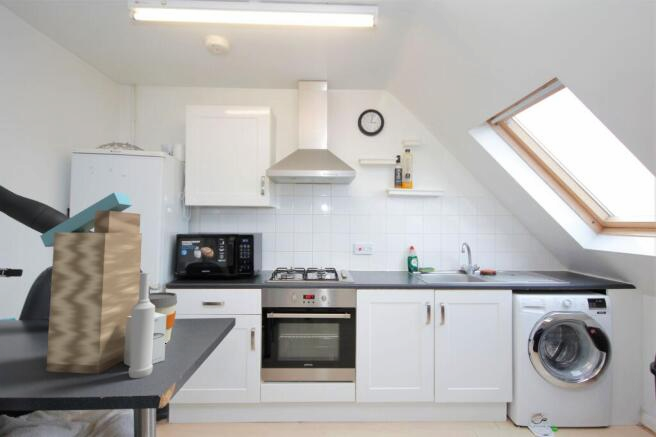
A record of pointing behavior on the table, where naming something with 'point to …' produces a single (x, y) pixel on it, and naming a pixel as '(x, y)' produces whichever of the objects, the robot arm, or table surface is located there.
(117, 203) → the long light blue beam
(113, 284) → the brown tall stepped block
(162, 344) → the supplement box
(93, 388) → the table surface
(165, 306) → the reusable coffee cup
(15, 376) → the table surface
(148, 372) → the bottle
